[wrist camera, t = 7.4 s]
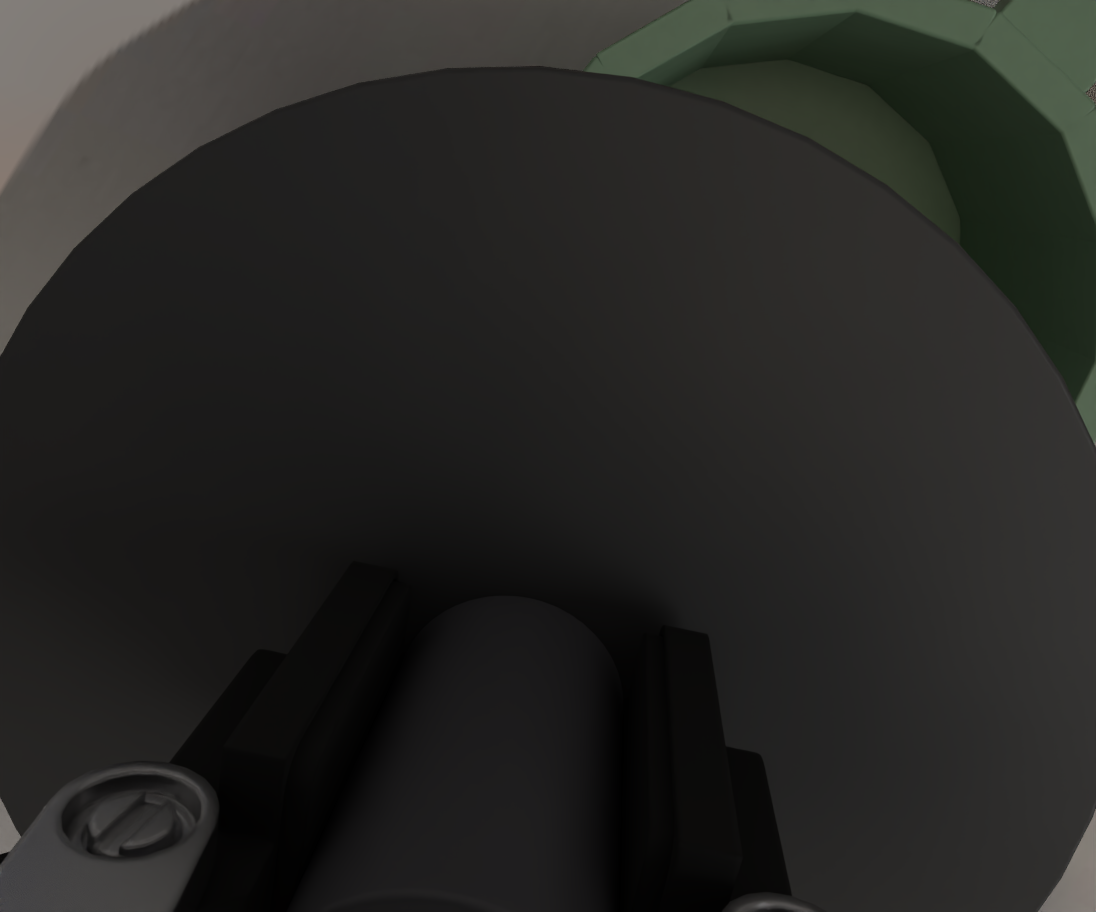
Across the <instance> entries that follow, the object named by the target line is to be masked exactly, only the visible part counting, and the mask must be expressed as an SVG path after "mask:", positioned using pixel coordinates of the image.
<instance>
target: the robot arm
mask: <svg viewBox="0 0 1096 912" xmlns="http://www.w3.org/2000/svg"><path fill="white" fill-rule="evenodd" d="M398 579H399V573H398V570H396V569H391V568H386V567H381V566H377V565H372V564H367V563H362V562H357V561H353V562H352V563H351V564H350V566H349V567H348V568H347V570H346V571H345V573H344V574H343V576H342V577H341V578H340V580H339V581H338V583H337V584H336V586H335V587H334V588H333V590H332V591H331V593H330V594H329V596H328V597H327V598H326V600H325V601H324V603H323V604H322V606H321V607H320V608H319V610H318V611H317V613H316V614H315V616H314V617H313V618H312V620H311V621H310V623H309V624H308V626H307V627H306V628H305V630H304V631H303V633H302V634H301V636H300V637H299V638H298V640H297V641H296V643H295V644H294V646H293V647H292V648H291V650H290V651H289V653H288V654H284V653H280V652H275V651H270V650H265V649H258V650H257V651H256V652H255V653H254V654H253V655H252V656H251V657H250V658H249V660H248V661H247V662H246V663H245V665H244V666H243V667H242V669H241V670H240V671H239V672H238V674H237V675H236V676H235V678H234V679H233V680H232V682H231V683H230V684H229V685H228V687H227V688H226V689H225V691H224V692H223V693H222V695H221V696H220V697H219V698H218V700H217V701H216V702H215V704H214V705H213V706H212V707H211V709H210V710H209V711H208V713H207V714H206V715H205V717H204V718H203V719H202V720H201V722H200V723H199V724H198V726H197V727H196V728H195V730H194V731H193V732H192V733H191V735H190V736H189V737H188V739H187V740H186V741H185V742H184V744H183V745H182V746H181V748H180V749H179V750H178V752H177V753H176V754H175V755H174V757H173V758H172V759H171V761H170V762H169V763H167V762H158V761H141V760H139V761H131V762H123V763H115V764H111V765H108V766H104V767H101V768H98V769H95V770H92V771H89V772H87V773H85V774H83V775H81V776H79V777H78V778H76V779H74V780H72V781H70V782H69V783H67V784H66V785H65V786H64V787H63V788H62V789H60V790H59V791H58V792H57V793H56V794H55V795H54V796H53V797H52V798H51V799H50V800H49V802H48V803H47V804H46V806H45V807H44V808H43V809H42V811H41V812H40V813H39V815H38V816H37V817H36V819H35V820H34V821H33V823H32V824H31V825H30V826H29V828H28V829H27V830H26V832H25V833H24V834H23V836H22V837H21V838H20V840H19V841H18V842H17V843H16V845H15V846H14V847H13V849H12V850H11V851H10V852H7V853H4V854H0V912H286V911H287V909H288V907H289V905H290V903H291V900H292V898H293V896H294V894H295V892H296V890H297V888H298V885H299V883H300V881H301V879H302V877H303V875H304V872H305V870H306V868H307V866H308V864H309V862H310V859H311V857H312V855H313V853H314V851H315V849H316V846H317V844H318V842H319V840H320V838H321V836H322V833H323V831H324V829H325V827H326V825H327V823H328V820H329V818H330V816H331V814H332V812H333V810H334V807H335V805H336V803H337V801H338V799H339V797H340V795H341V792H342V790H343V788H344V786H345V784H346V782H347V779H348V777H349V775H350V773H351V771H352V769H353V766H354V764H355V762H356V760H357V758H358V756H359V753H360V751H361V749H362V747H363V745H364V743H365V740H366V738H367V736H368V734H369V732H370V730H371V727H372V725H373V723H374V721H375V719H376V717H377V714H378V712H379V710H380V708H381V706H382V704H383V702H384V699H385V697H386V695H387V693H388V691H389V689H390V686H391V684H392V682H393V680H394V678H395V676H396V673H397V671H398V669H399V667H400V665H401V662H402V655H403V649H404V643H405V636H406V630H407V623H408V617H409V610H410V604H411V597H412V585H411V584H406V583H401V582H398ZM619 912H827V911H825V910H823V909H822V908H820V907H818V906H817V905H814V904H812V903H809V902H807V901H804V900H801V899H799V898H796V897H793V896H792V892H791V888H790V883H789V878H788V874H787V869H786V864H785V859H784V855H783V850H782V845H781V841H780V836H779V831H778V827H777V822H776V817H775V813H774V808H773V803H772V798H771V794H770V789H769V784H768V780H767V775H766V770H765V766H764V762H763V759H762V756H761V755H760V754H758V753H756V752H751V751H747V750H742V749H737V748H732V747H728V746H726V745H725V738H724V732H723V725H722V719H721V712H720V706H719V699H718V693H717V686H716V680H715V673H714V667H713V660H712V654H711V647H710V641H709V636H708V634H706V633H701V632H696V631H691V630H686V629H681V628H677V627H672V626H667V625H663V626H662V628H661V631H660V633H659V636H657V635H652V634H647V633H644V634H643V637H642V640H641V643H640V647H639V652H638V656H637V660H636V664H635V668H634V672H633V677H632V681H631V685H630V689H629V693H628V697H627V702H626V706H625V710H624V714H623V730H622V779H621V828H620V878H619Z"/></svg>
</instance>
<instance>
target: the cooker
mask: <svg viewBox="0 0 1096 912" xmlns="http://www.w3.org/2000/svg"><path fill="white" fill-rule="evenodd" d="M596 56H597V57H594V58H592V60H591V61H590V62H589V63H588V65H587V66H586V67H585V69H584V70H583V71H585V72H594V73H602V74H610V75H619V76H627V77H634V78H638V79H641V80H645V81H649V82H653V83H656V84H660V85H664V86H668V87H671V88H675V89H679V90H683V91H686V92H690V93H694V94H698V95H702V96H705V97H709V98H713V99H717V100H720V101H724V102H726V103H728V104H731V105H733V106H735V107H738V108H740V109H743V110H745V111H747V112H750V113H752V114H754V115H757V116H759V117H761V118H764V119H766V120H769V121H771V122H773V123H776V124H778V125H780V126H783V127H785V128H787V129H790V130H792V131H794V132H797V133H799V134H802V135H804V136H806V137H809V138H810V139H812V140H814V141H815V142H817V143H819V144H820V145H822V146H824V147H825V148H827V149H829V150H830V151H832V152H834V153H835V154H837V155H839V156H840V157H842V158H843V159H845V160H847V161H848V162H850V163H852V164H853V165H855V166H857V167H858V168H860V169H862V170H863V171H865V172H867V173H868V174H870V175H872V176H873V177H875V178H877V179H878V180H880V181H882V182H883V183H885V184H887V185H888V186H889V187H890V188H892V189H893V190H894V191H895V192H897V193H898V194H899V195H900V196H901V197H903V198H904V199H905V200H906V201H908V202H909V203H910V204H911V205H912V206H914V207H915V208H916V209H917V210H919V211H920V212H921V213H922V214H923V215H925V216H926V217H927V218H928V219H930V220H931V221H932V222H933V223H934V224H936V225H937V226H938V227H939V228H940V229H942V230H943V231H944V232H945V233H947V234H948V235H949V236H950V237H951V238H953V239H954V240H955V241H956V242H957V243H958V244H959V245H960V246H961V247H962V248H963V249H964V250H965V251H966V252H967V254H968V255H969V256H970V257H971V258H972V259H973V260H974V261H975V262H976V263H977V265H978V266H979V267H980V268H981V269H982V270H983V271H984V272H985V273H986V274H987V276H988V277H989V278H990V279H991V280H992V281H993V282H994V283H995V284H996V285H997V287H998V288H999V289H1000V290H1001V291H1002V292H1003V293H1004V294H1005V295H1006V296H1007V298H1008V299H1009V300H1010V301H1011V302H1012V303H1013V304H1014V305H1015V306H1016V308H1017V309H1018V311H1019V312H1020V314H1021V315H1022V317H1023V318H1024V320H1025V321H1026V323H1027V324H1028V326H1029V327H1030V329H1031V330H1032V332H1033V333H1034V335H1035V336H1036V338H1037V339H1038V341H1039V342H1040V344H1041V345H1042V347H1043V348H1044V350H1045V351H1046V353H1047V354H1048V356H1049V357H1050V359H1051V360H1052V362H1053V363H1054V365H1055V366H1056V368H1057V369H1058V371H1059V372H1060V374H1061V375H1062V377H1063V378H1064V380H1065V383H1066V385H1067V387H1068V389H1069V391H1070V393H1071V395H1072V398H1073V400H1074V402H1075V404H1076V406H1077V408H1078V410H1079V412H1080V415H1081V417H1082V419H1083V421H1084V423H1085V425H1086V427H1087V430H1088V432H1089V434H1090V436H1091V438H1092V440H1093V442H1094V443H1095V441H1096V107H1095V106H1096V104H1095V102H1094V101H1093V100H1091V99H1090V98H1089V97H1088V96H1087V95H1086V94H1085V93H1086V92H1087V91H1088V90H1089V89H1090V88H1091V87H1092V86H1093V85H1094V84H1095V82H1096V0H1000V1H999V2H998V3H997V4H996V6H995V7H994V8H991V7H988V6H985V5H982V4H978V3H975V2H972V1H969V0H689V1H687V2H685V3H684V4H682V5H680V6H678V7H677V8H675V9H673V10H671V11H670V12H668V13H666V14H665V15H663V16H661V17H659V18H658V19H656V20H654V21H652V22H651V23H649V24H647V25H645V26H644V27H642V28H640V29H638V30H637V31H635V32H633V33H631V34H630V35H628V36H626V37H625V38H623V39H621V40H619V41H618V42H616V43H614V44H612V45H611V46H609V47H607V48H605V49H604V50H602V51H600V52H598V53H597V54H596Z"/></svg>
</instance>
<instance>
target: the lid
mask: <svg viewBox="0 0 1096 912" xmlns="http://www.w3.org/2000/svg"><path fill="white" fill-rule="evenodd" d="M353 561H357V562H362V563H367V564H372V565H377V566H381V567H386V568H391V569H396V570H398V573H399V579H398V582H401V583H406V584H411V585H412V597H411V604H410V610H409V617H408V623H407V630H406V636H405V643H404V649H403V655H402V662H401V665H400V667H399V669H398V671H397V673H396V676H395V678H394V680H393V682H392V684H391V686H390V689H389V691H388V693H387V695H386V697H385V699H384V702H383V704H382V706H381V708H380V710H379V712H378V714H377V717H376V719H375V721H374V723H373V725H372V727H371V730H370V732H369V734H368V736H367V738H366V740H365V743H364V745H363V747H362V749H361V751H360V753H359V756H358V758H357V760H356V762H355V764H354V766H353V769H352V771H351V773H350V775H349V777H348V779H347V782H346V784H345V786H344V788H343V790H342V792H341V795H340V797H339V799H338V801H337V803H336V805H335V807H334V810H333V812H332V814H331V816H330V818H329V820H328V823H327V825H326V827H325V829H324V831H323V833H322V836H321V838H320V840H319V842H318V844H317V846H316V849H315V851H314V853H313V855H312V857H311V859H310V862H309V864H308V866H307V868H306V870H305V872H304V875H303V877H302V879H301V881H300V883H299V885H298V888H297V890H296V892H295V894H294V896H293V898H292V900H291V903H290V905H289V907H288V909H287V911H286V912H619V878H620V828H621V779H622V730H623V714H624V710H625V706H626V702H627V697H628V693H629V689H630V685H631V681H632V677H633V672H634V668H635V664H636V660H637V656H638V652H639V647H640V643H641V640H642V637H643V634H644V633H647V634H652V635H657V636H659V633H660V631H661V628H662V626H663V625H667V626H672V627H677V628H681V629H686V630H691V631H696V632H701V633H706V634H708V636H709V641H710V647H711V654H712V660H713V667H714V673H715V680H716V686H717V693H718V699H719V706H720V712H721V719H722V725H723V732H724V738H725V745H726V746H728V747H732V748H737V749H742V750H747V751H751V752H756V753H758V754H760V755H761V756H762V759H763V762H764V766H765V770H766V775H767V780H768V784H769V789H770V794H771V798H772V803H773V808H774V813H775V817H776V822H777V827H778V831H779V836H780V841H781V845H782V850H783V855H784V859H785V864H786V869H787V874H788V878H789V883H790V888H791V892H792V896H793V897H796V898H799V899H801V900H804V901H807V902H809V903H812V904H814V905H817V906H818V907H820V908H822V909H823V910H825V911H827V912H1038V910H1039V909H1040V908H1041V906H1042V905H1043V903H1044V902H1045V901H1046V899H1047V898H1048V896H1049V895H1050V893H1051V892H1052V891H1053V889H1054V888H1055V886H1056V885H1057V884H1058V882H1059V881H1060V879H1061V878H1062V876H1063V874H1064V872H1065V870H1066V868H1067V866H1068V864H1069V862H1070V860H1071V858H1072V856H1073V854H1074V852H1075V850H1076V848H1077V847H1078V845H1079V843H1080V841H1081V839H1082V837H1083V835H1084V833H1085V831H1086V829H1087V827H1088V825H1089V823H1090V821H1091V819H1092V817H1093V814H1094V811H1095V809H1096V447H1095V445H1094V442H1093V440H1092V438H1091V436H1090V434H1089V432H1088V430H1087V427H1086V425H1085V423H1084V421H1083V419H1082V417H1081V415H1080V412H1079V410H1078V408H1077V406H1076V404H1075V402H1074V400H1073V398H1072V395H1071V393H1070V391H1069V389H1068V387H1067V385H1066V383H1065V380H1064V378H1063V377H1062V375H1061V374H1060V372H1059V371H1058V369H1057V368H1056V366H1055V365H1054V363H1053V362H1052V360H1051V359H1050V357H1049V356H1048V354H1047V353H1046V351H1045V350H1044V348H1043V347H1042V345H1041V344H1040V342H1039V341H1038V339H1037V338H1036V336H1035V335H1034V333H1033V332H1032V330H1031V329H1030V327H1029V326H1028V324H1027V323H1026V321H1025V320H1024V318H1023V317H1022V315H1021V314H1020V312H1019V311H1018V309H1017V308H1016V306H1015V305H1014V304H1013V303H1012V302H1011V301H1010V300H1009V299H1008V298H1007V296H1006V295H1005V294H1004V293H1003V292H1002V291H1001V290H1000V289H999V288H998V287H997V285H996V284H995V283H994V282H993V281H992V280H991V279H990V278H989V277H988V276H987V274H986V273H985V272H984V271H983V270H982V269H981V268H980V267H979V266H978V265H977V263H976V262H975V261H974V260H973V259H972V258H971V257H970V256H969V255H968V254H967V252H966V251H965V250H964V249H963V248H962V247H961V246H960V245H959V244H958V243H957V242H956V241H955V240H954V239H953V238H951V237H950V236H949V235H948V234H947V233H945V232H944V231H943V230H942V229H940V228H939V227H938V226H937V225H936V224H934V223H933V222H932V221H931V220H930V219H928V218H927V217H926V216H925V215H923V214H922V213H921V212H920V211H919V210H917V209H916V208H915V207H914V206H912V205H911V204H910V203H909V202H908V201H906V200H905V199H904V198H903V197H901V196H900V195H899V194H898V193H897V192H895V191H894V190H893V189H892V188H890V187H889V186H888V185H887V184H885V183H883V182H882V181H880V180H878V179H877V178H875V177H873V176H872V175H870V174H868V173H867V172H865V171H863V170H862V169H860V168H858V167H857V166H855V165H853V164H852V163H850V162H848V161H847V160H845V159H843V158H842V157H840V156H839V155H837V154H835V153H834V152H832V151H830V150H829V149H827V148H825V147H824V146H822V145H820V144H819V143H817V142H815V141H814V140H812V139H810V138H809V137H806V136H804V135H802V134H799V133H797V132H794V131H792V130H790V129H787V128H785V127H783V126H780V125H778V124H776V123H773V122H771V121H769V120H766V119H764V118H761V117H759V116H757V115H754V114H752V113H750V112H747V111H745V110H743V109H740V108H738V107H735V106H733V105H731V104H728V103H726V102H724V101H720V100H717V99H713V98H709V97H705V96H702V95H698V94H694V93H690V92H686V91H683V90H679V89H675V88H671V87H668V86H664V85H660V84H656V83H653V82H649V81H645V80H641V79H638V78H634V77H627V76H619V75H610V74H602V73H594V72H585V71H577V70H569V69H560V68H552V67H544V66H521V67H475V68H446V69H440V70H434V71H428V72H421V73H415V74H409V75H403V76H397V77H391V78H385V79H379V80H373V81H367V82H361V83H357V84H354V85H351V86H348V87H345V88H341V89H338V90H335V91H332V92H329V93H326V94H323V95H320V96H316V97H313V98H310V99H307V100H304V101H301V102H298V103H294V104H291V105H288V106H285V107H282V108H279V109H276V110H274V111H272V112H270V113H267V114H265V115H263V116H261V117H259V118H257V119H255V120H253V121H251V122H249V123H247V124H245V125H243V126H241V127H239V128H237V129H235V130H233V131H231V132H229V133H227V134H225V135H223V136H221V137H219V138H216V139H214V140H212V141H210V142H208V143H206V144H204V145H202V146H200V147H199V148H197V149H196V150H194V151H193V152H191V153H190V154H188V155H187V156H185V157H184V158H183V159H181V160H180V161H178V162H177V163H175V164H174V165H172V166H171V167H170V168H168V169H167V170H165V171H164V172H162V173H161V174H159V175H158V176H157V177H155V178H154V179H152V180H151V181H149V182H148V183H146V184H145V185H144V186H142V187H141V188H139V189H138V190H136V191H135V192H133V193H132V194H131V195H130V196H129V197H128V198H127V199H126V200H125V201H124V202H122V203H121V204H120V205H119V206H118V207H117V208H116V209H115V210H114V211H113V212H112V213H111V214H110V215H109V216H108V217H107V218H105V219H104V220H103V221H102V222H101V223H100V224H99V225H98V226H97V227H96V228H95V229H94V230H93V231H92V232H91V233H90V234H89V235H87V236H86V237H85V238H84V239H83V240H82V241H81V242H80V243H79V244H78V245H77V246H76V247H75V248H74V249H73V250H72V252H71V253H70V254H69V255H68V257H67V258H66V259H65V261H64V262H63V263H62V264H61V266H60V267H59V268H58V270H57V271H56V272H55V273H54V275H53V276H52V277H51V279H50V280H49V281H48V282H47V284H46V285H45V286H44V287H43V289H42V290H41V291H40V293H39V294H38V295H37V296H36V298H35V299H34V300H33V302H32V303H31V304H30V305H29V307H28V308H27V310H26V312H25V313H24V315H23V317H22V319H21V320H20V322H19V324H18V326H17V328H16V329H15V331H14V333H13V335H12V337H11V338H10V340H9V342H8V344H7V346H6V347H5V349H4V351H3V353H2V354H1V356H0V797H1V799H2V801H3V803H4V805H5V807H6V809H7V811H8V813H9V815H10V818H11V820H12V822H13V824H14V826H15V828H16V830H17V831H18V833H19V834H20V836H21V837H22V836H23V834H24V833H25V832H26V830H27V829H28V828H29V826H30V825H31V824H32V823H33V821H34V820H35V819H36V817H37V816H38V815H39V813H40V812H41V811H42V809H43V808H44V807H45V806H46V804H47V803H48V802H49V800H50V799H51V798H52V797H53V796H54V795H55V794H56V793H57V792H58V791H59V790H60V789H62V788H63V787H64V786H65V785H66V784H67V783H69V782H70V781H72V780H74V779H76V778H78V777H79V776H81V775H83V774H85V773H87V772H89V771H92V770H95V769H98V768H101V767H104V766H108V765H111V764H115V763H123V762H131V761H139V760H141V761H158V762H167V763H169V762H170V761H171V759H172V758H173V757H174V755H175V754H176V753H177V752H178V750H179V749H180V748H181V746H182V745H183V744H184V742H185V741H186V740H187V739H188V737H189V736H190V735H191V733H192V732H193V731H194V730H195V728H196V727H197V726H198V724H199V723H200V722H201V720H202V719H203V718H204V717H205V715H206V714H207V713H208V711H209V710H210V709H211V707H212V706H213V705H214V704H215V702H216V701H217V700H218V698H219V697H220V696H221V695H222V693H223V692H224V691H225V689H226V688H227V687H228V685H229V684H230V683H231V682H232V680H233V679H234V678H235V676H236V675H237V674H238V672H239V671H240V670H241V669H242V667H243V666H244V665H245V663H246V662H247V661H248V660H249V658H250V657H251V656H252V655H253V654H254V653H255V652H256V651H257V650H258V649H265V650H270V651H275V652H280V653H284V654H288V653H289V651H290V650H291V648H292V647H293V646H294V644H295V643H296V641H297V640H298V638H299V637H300V636H301V634H302V633H303V631H304V630H305V628H306V627H307V626H308V624H309V623H310V621H311V620H312V618H313V617H314V616H315V614H316V613H317V611H318V610H319V608H320V607H321V606H322V604H323V603H324V601H325V600H326V598H327V597H328V596H329V594H330V593H331V591H332V590H333V588H334V587H335V586H336V584H337V583H338V581H339V580H340V578H341V577H342V576H343V574H344V573H345V571H346V570H347V568H348V567H349V566H350V564H351V563H352V562H353Z"/></svg>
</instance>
